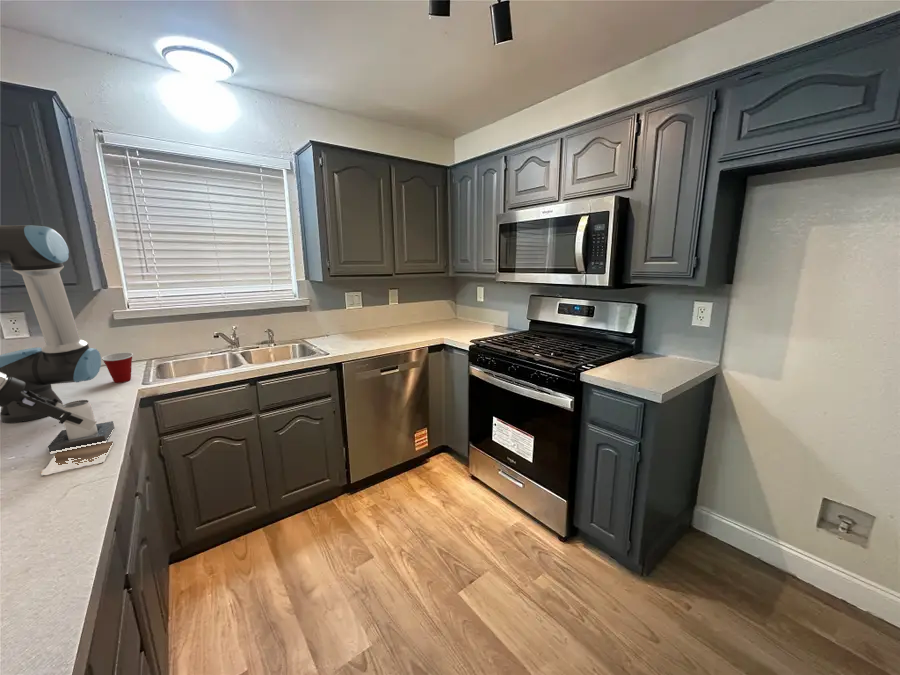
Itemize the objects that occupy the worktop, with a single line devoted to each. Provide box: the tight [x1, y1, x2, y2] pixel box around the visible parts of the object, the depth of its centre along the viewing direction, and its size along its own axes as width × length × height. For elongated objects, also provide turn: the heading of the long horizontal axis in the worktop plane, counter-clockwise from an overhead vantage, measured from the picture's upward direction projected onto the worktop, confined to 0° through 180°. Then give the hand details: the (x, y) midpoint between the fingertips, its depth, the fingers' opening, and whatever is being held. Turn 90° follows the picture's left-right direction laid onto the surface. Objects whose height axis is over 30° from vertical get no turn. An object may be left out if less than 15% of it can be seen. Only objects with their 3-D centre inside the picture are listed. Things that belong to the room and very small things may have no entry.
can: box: [62, 399, 98, 440], centre depth 113 cm, size 6×6×12 cm
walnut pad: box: [53, 440, 114, 465], centre depth 104 cm, size 12×12×1 cm
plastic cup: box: [101, 352, 134, 384], centre depth 168 cm, size 11×11×12 cm
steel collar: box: [47, 420, 115, 452], centre depth 114 cm, size 12×12×2 cm
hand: (85, 420), depth 114 cm, fingers open, 13 cm apart
